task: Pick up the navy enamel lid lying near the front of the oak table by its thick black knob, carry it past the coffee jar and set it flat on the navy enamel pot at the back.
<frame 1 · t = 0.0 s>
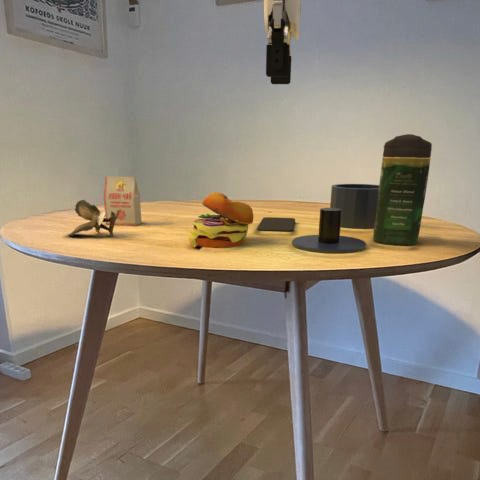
hand: (278, 80, 72), 26 cm above the table, tool pointing down, fingers open, 9 cm apart
cheeseburger: (220, 246, 84), on the table
lid: (328, 245, 81), point 1 cm above the table
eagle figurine: (93, 236, 91), on the table
paper takeout bag: (124, 224, 104), on the table
phone: (276, 227, 100), on the table
coffee jar: (395, 244, 86), on the table
pot: (356, 226, 102), on the table
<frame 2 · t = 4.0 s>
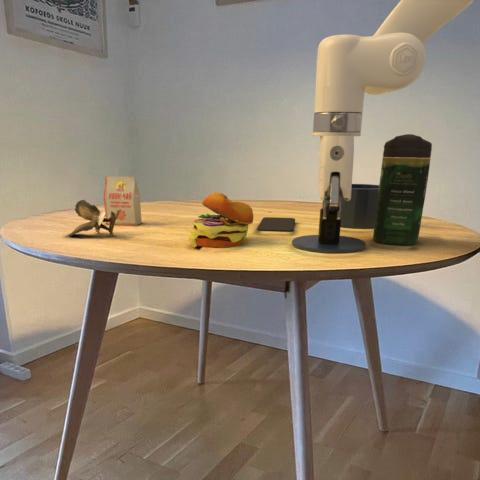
hand: (328, 240, 81), 1 cm above the table, tool pointing down, fingers closed on lid, 3 cm apart
lid: (328, 245, 81), point 1 cm above the table, touching gripper
everything else where it was.
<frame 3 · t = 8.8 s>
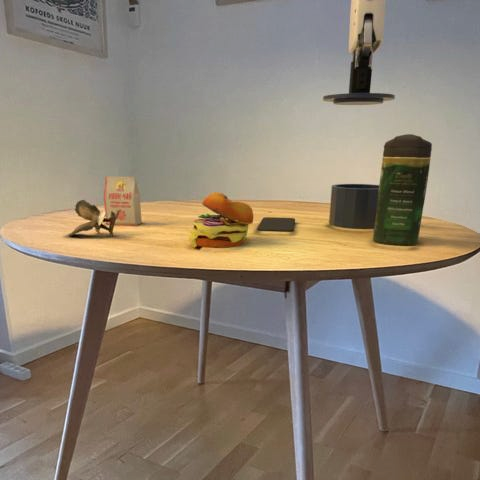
hand: (358, 94, 84), 25 cm above the table, tool pointing down, fingers closed on lid, 3 cm apart
lid: (358, 99, 85), point 24 cm above the table, touching gripper
everything else where it was.
when the fingers open (9 cm above the table, at t = 13.6 s): lid stays where it is, resting on pot.
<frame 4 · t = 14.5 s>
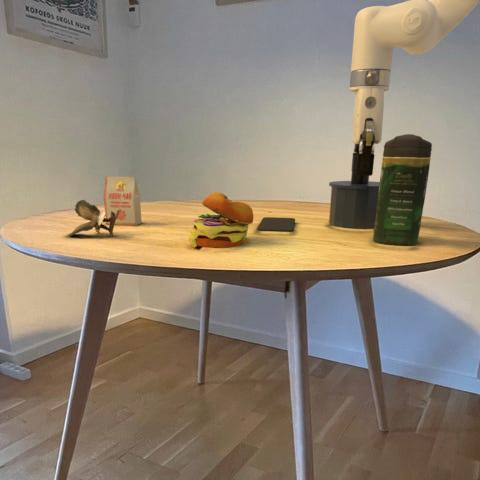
hand: (361, 173, 98), 11 cm above the table, tool pointing down, fingers open, 9 cm apart
lid: (359, 186, 99), point 8 cm above the table, touching pot
everything else where it was.
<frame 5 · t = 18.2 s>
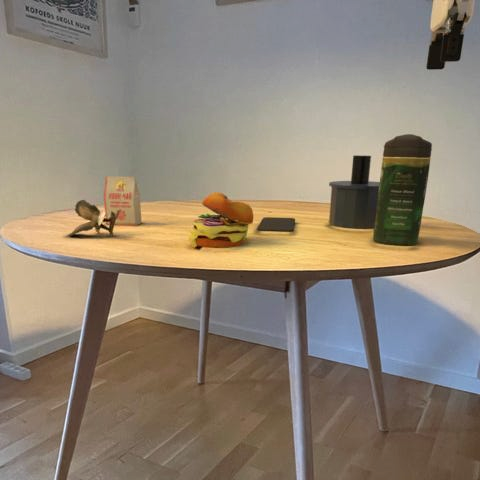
hand: (442, 65, 85), 30 cm above the table, tool pointing down, fingers open, 9 cm apart
nothing on the table moved.
at the end: lid 0.1 cm off-centre on the pot, point 8.5 cm above the pot's base; lid tilted 0°; the gripper is holding nothing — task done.
